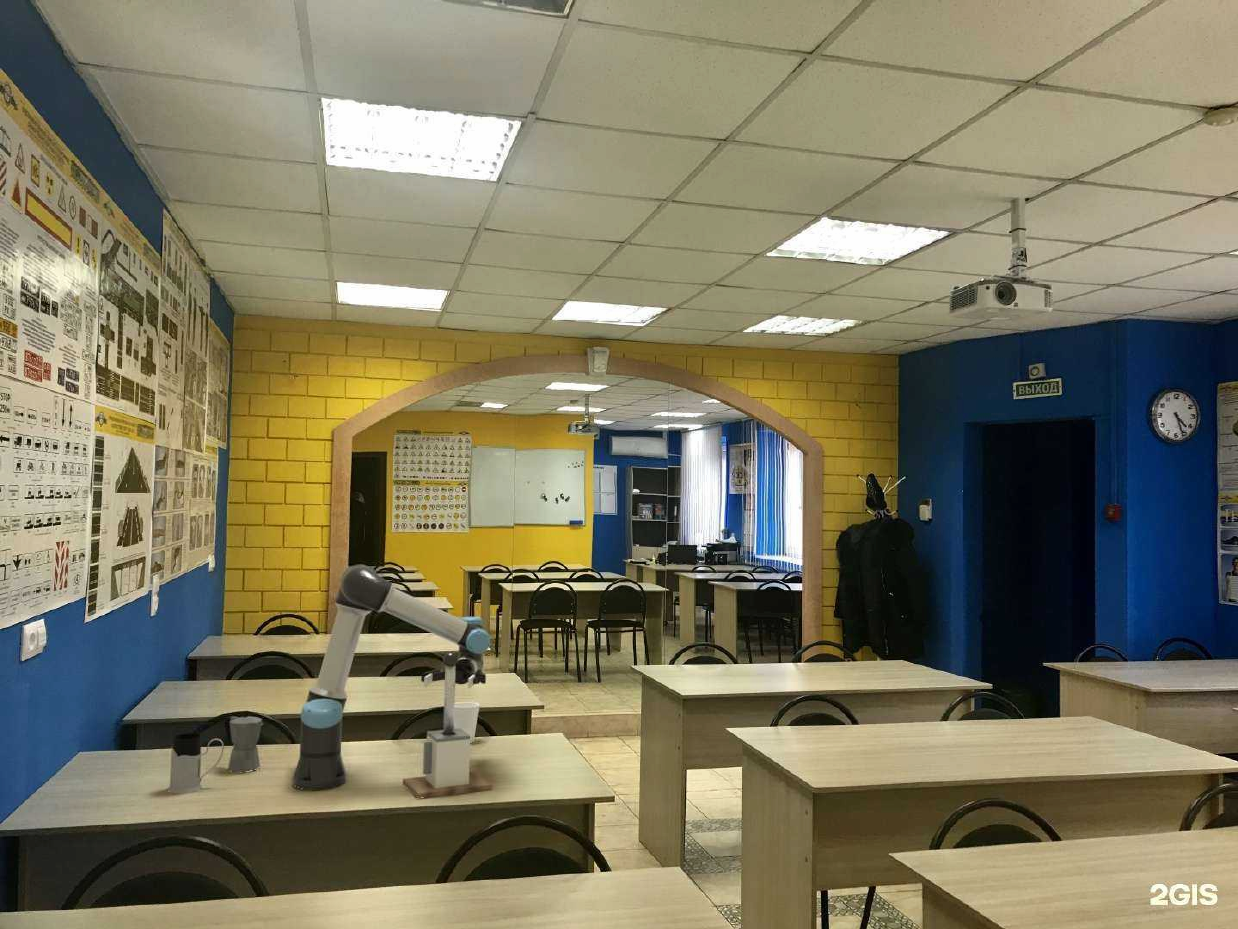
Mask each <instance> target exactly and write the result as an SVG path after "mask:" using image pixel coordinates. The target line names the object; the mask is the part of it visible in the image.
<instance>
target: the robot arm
mask: <svg viewBox="0 0 1238 929" xmlns="http://www.w3.org/2000/svg"><path fill="white" fill-rule="evenodd" d="M339 581H340V583H339V588H338V591H337V595H336V598H335V601H334V605H335V606H336V609H337V612H336V616H335V619H334V622H333V627H332V630H331V633H330V637H329V640H328V644H327V647H326V651H325V653H324V657H323V661H322V664H321V668H320V672H319V673H318V679H317V682H316V684H315V685H314V686H312V687H310V688H309V691H308V695H307V697H306V701H305V703H304V704H303V705H302V707H301V712H300V743H299V745H300V746H299V758H298V761H297V763H296V767H295V770H294V772H293V774H292V775H293V776H292V783H293V785H294V786H296V787H299V788H303V789H302V790H305V789H312V790H311V791H318V790H319V789H321V790H328V788H329V789H333V787H334V788H337V787H340V786H342V785H344V784H345V783H346V782H347V773H346V771H347V770H346V769H345V765H344V762H343V758H342V732H343V716H344V710H345V706H346V703H347V700H348V695H347V693H346V691H345V688H346V684H347V681H348V678H349V674H350V671H351V667H352V665H353V659H354V656H355V653H356V650H357V647H358V642H359V640H360V636H361V633H362V629H363V626H364V622H365V619H366V616H367V615H369V614H370V613H371V612H373V611H375V612H377V613H381V612H385V613H387V614H390V615H392V616H394V617H395V618H398V619H400V620H402V621H404V622H406V623H409V624H411V625H413V626H416V627H418V628H420V629H422V630H425V631H426V632H429V633H431V634H434V635H435V636H437V637H440V638H441V639H444V640H446V641H449V642H450V643H453V644H454V645H455V644H456V645H457V646H458V663H457V665H456V671H455V685H465V684H467V689H471V688H472V687H474V685H479V684H480V683H481V684H483V685H484V684H486V682H487V681H486V680H487V674H485V673H484V672H482V670H483V668H484V665H485V664H484V663H485V661H484V658H483V653H485V652H486V651H487V650H488V649H489V648H490V645H491V637H490V635H489V633H488V632H487V631H486V630H485V629H483V628H484V624H483V619H482V618H481V617H478V616H463V617H461V618H459V617H457V616H454V615H453V614H451V613H448V612H446V611H443V610H442V609H440V608H437V607H436V606H433V605H431V604H429V603H426V601H423V600H420V599H418V598H416V597H414V596H411V595H410V594H408V593H405V592H403V591H402V590H399V589H398V588H395V586H394V583H393V582H390V581H389V580H386V579H384V578H383V577H381V576H380V575H379V574H378V573H377V571H376V570H375V569H374V568H373V567H371V566H368V565H367V564H366V565H365V564H355V565H352V566H350V567H349V568H347V569H346V570H345V571H344V572H343V573H342V575H341V577H340V580H339ZM420 676H421V678H420V682H422V683H424V684H423V687H425V688H427V687H428V686H430V685H431V684H433V683H434V682H438V681H445V669H444V670H443V669H442V668H440V667H439V668H437V669H434V670H430V671H425V672H421V675H420ZM293 785H292V786H293ZM294 786H293V787H294ZM296 787H295V788H296ZM299 788H298V789H299ZM313 789H315V790H313ZM317 789H318V790H317Z"/></svg>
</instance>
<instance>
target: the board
mask: <svg viewBox="0 0 1238 929" xmlns="http://www.w3.org/2000/svg"><path fill="white" fill-rule="evenodd" d="M402 785H403V786H404V785H405V786H406V787H407V788H408V789H409V790H408V789H407V788H406V787H405V786H404V787H405V788H406V789H407V790H408V791H411V792H412V793H413V794H414V795H415V796H416V797H417V798H421V797H430V798H435V797H434V796H438V797H444V796H445V795H446V796H452V795H453V794H454V795H459V794H460V793H461V794H467V793H468V794H469V793H475V792H474V791H477V792H484V791H491V790H492V788H493V785H492V783H491V782H489V781H488V780H487V779H485V777H483V776H481V775H480V774H479V773H477V771H475V770H469V784H466V785H458V786H450V787H442V788H435V787H434V786H433V785H431V784H430V783H429V782H428V781H427V780H426V775H425V776H417V777H407V778H402ZM411 792H410V793H411ZM412 793H411V794H412ZM413 794H412V795H413ZM414 795H413V796H414ZM415 796H414V797H415ZM416 797H415V798H416ZM417 798H416V799H417Z"/></svg>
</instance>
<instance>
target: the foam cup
mask: <svg viewBox="0 0 1238 929" xmlns="http://www.w3.org/2000/svg"><path fill="white" fill-rule="evenodd" d="M479 712H480V703H477V702H474V701H473V702H472V701H459V702H455V705H454V729H458V728H460V729H461V730H463V731H464V732H466V733H467V734H469V735H470V743H471V744H473V743H474V742H475V737H476V729H477V722H478V716H479ZM472 742H473V743H472Z"/></svg>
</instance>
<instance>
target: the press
mask: <svg viewBox="0 0 1238 929" xmlns="http://www.w3.org/2000/svg"><path fill="white" fill-rule="evenodd" d="M443 730H444V729H439V730H429V731H426V741H424V742H423V760H422V765H423V766H422V774H423V775H425V776H426V780H427V781H428V782H429V783H430V784H431V785H433V786H434V787H435V788H442V787H450V786H458V785H466V784H469V771H470V762H471V761H470V758H471V756H470V755H471V751H470V750H471V744H470V735H469V734H467V733H466V732H464V731H463V730H461V729H460V728H458V729H454V735H446V736H444V735H443Z"/></svg>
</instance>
